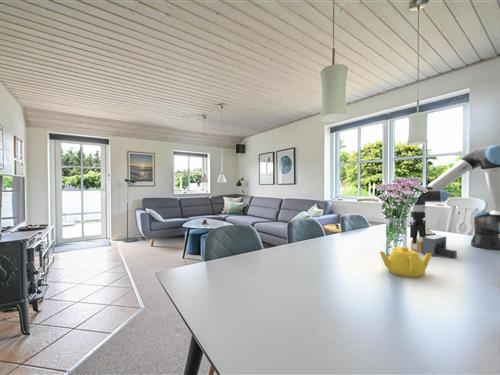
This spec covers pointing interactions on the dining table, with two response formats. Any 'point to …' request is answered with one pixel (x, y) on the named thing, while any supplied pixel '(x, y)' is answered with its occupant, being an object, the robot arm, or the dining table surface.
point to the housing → (433, 243)
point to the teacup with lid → (429, 233)
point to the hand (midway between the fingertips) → (418, 247)
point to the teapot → (406, 262)
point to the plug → (439, 250)
